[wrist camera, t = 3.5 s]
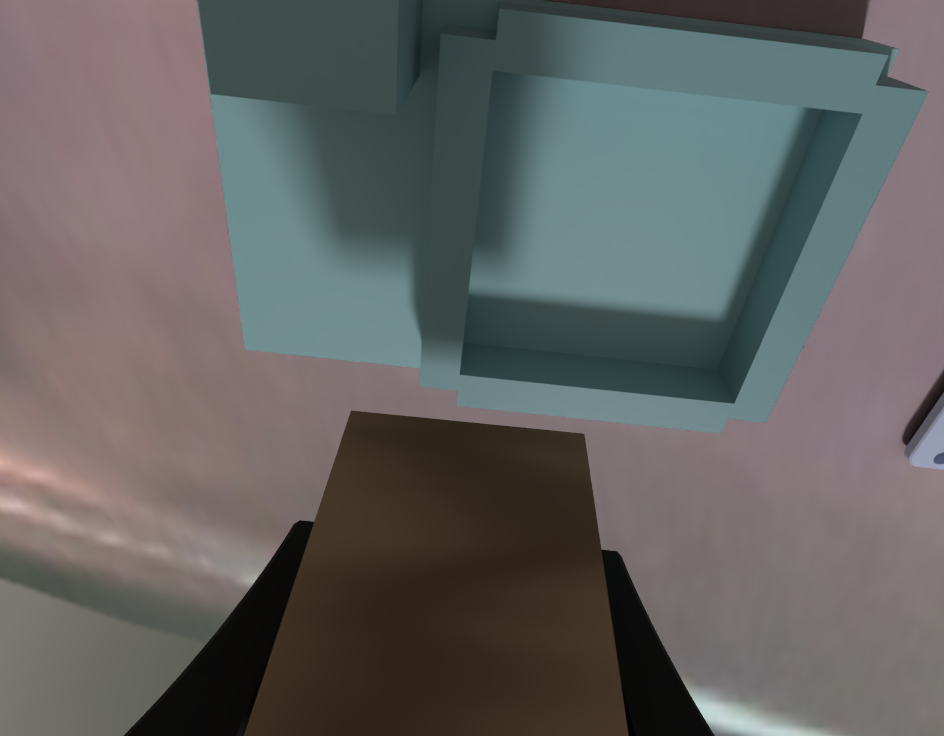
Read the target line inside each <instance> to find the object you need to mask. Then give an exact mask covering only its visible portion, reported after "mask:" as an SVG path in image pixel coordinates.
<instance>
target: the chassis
mask: <svg viewBox="0 0 944 736" xmlns="http://www.w3.org/2000/svg"><path fill="white" fill-rule="evenodd" d="M197 4H198V11H199V18H200V26H201V33H202V40H203V48H204V55H205V62H206V69H207V77H208V84H209V91H210V99H211V106H212V113H213V120H214V128H215V135H216V142H217V150H218V157H219V164H220V172H221V179H222V186H223V193H224V201H225V208H226V215H227V223H228V230H229V237H230V245H231V252H232V259H233V266H234V274H235V281H236V288H237V296H238V303H239V310H240V317H241V325H242V332H243V339H244V347H245V350H253V351H263V352H272V353H282V354H291V355H300V356H310V357H319V358H329V359H338V360H348V361H357V362H367V363H376V364H386V365H395V366H405V367H414V368H420V377H419V387H429V388H438V389H448V390H457V391H458V393H457V403H456V406H463V407H473V408H482V409H492V410H502V411H511V412H521V413H530V414H540V415H550V416H559V417H569V418H578V419H588V420H597V421H607V422H617V423H626V424H636V425H645V426H655V427H664V428H674V429H684V430H693V431H703V432H712V433H722V430H723V428H724V426H725V424H726V421H727V419H733V420H743V421H753V422H762V423H766V421H767V419H768V417H769V415H770V413H771V411H772V409H773V407H774V405H775V403H776V401H777V399H778V397H779V395H780V393H781V391H782V389H783V387H784V385H785V383H786V381H787V379H788V377H789V375H790V373H791V370H792V368H793V366H794V364H795V362H796V360H797V358H798V356H799V354H800V352H801V350H802V348H803V346H804V344H805V342H806V340H807V338H808V336H809V334H810V332H811V330H812V328H813V326H814V324H815V322H816V320H817V318H818V316H819V314H820V312H821V310H822V307H823V305H824V303H825V301H826V299H827V297H828V295H829V293H830V291H831V289H832V287H833V285H834V283H835V281H836V279H837V277H838V275H839V273H840V271H841V269H842V267H843V265H844V263H845V261H846V259H847V257H848V255H849V253H850V251H851V249H852V247H853V244H854V242H855V240H856V238H857V236H858V234H859V232H860V230H861V228H862V226H863V224H864V222H865V220H866V218H867V216H868V214H869V212H870V210H871V208H872V206H873V204H874V202H875V200H876V198H877V196H878V194H879V192H880V190H881V188H882V186H883V184H884V181H885V179H886V177H887V175H888V173H889V171H890V169H891V167H892V165H893V163H894V161H895V159H896V157H897V155H898V153H899V151H900V149H901V147H902V145H903V143H904V141H905V139H906V137H907V135H908V133H909V131H910V129H911V127H912V125H913V123H914V121H915V119H916V116H917V114H918V112H919V110H920V108H921V106H922V104H923V102H924V100H925V98H926V96H927V94H928V92H929V91H926V90H923V89H920V88H918V87H915V86H912V85H909V84H907V83H904V82H901V81H898V80H896V79H893V78H890V77H888V76H887V75H888V73H889V71H890V69H891V67H892V64H893V62H894V60H895V58H896V55H897V53H898V51H899V49H897V48H894V47H890V46H887V45H883V44H880V43H876V42H873V41H869V40H866V39H861V38H853V37H845V36H836V35H828V34H820V33H811V32H803V31H795V30H786V29H778V28H770V27H761V26H753V25H744V24H736V23H728V22H719V21H711V20H703V19H694V18H686V17H678V16H669V15H661V14H653V13H644V12H636V11H628V10H619V9H611V8H603V7H594V6H586V5H578V4H569V3H561V2H553V1H544V0H197Z"/></svg>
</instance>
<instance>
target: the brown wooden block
mask: <svg viewBox="0 0 944 736" xmlns="http://www.w3.org/2000/svg"><path fill="white" fill-rule="evenodd" d="M244 736H629V735H628V728H627V721H626V714H625V707H624V701H623V694H622V687H621V680H620V673H619V667H618V660H617V653H616V646H615V640H614V633H613V626H612V619H611V612H610V606H609V599H608V592H607V585H606V579H605V572H604V565H603V558H602V551H601V545H600V538H599V531H598V524H597V517H596V511H595V504H594V497H593V490H592V484H591V477H590V470H589V463H588V456H587V450H586V443H585V436H584V434H581V433H571V432H561V431H551V430H541V429H531V428H520V427H510V426H500V425H490V424H480V423H470V422H460V421H450V420H440V419H430V418H420V417H410V416H399V415H389V414H379V413H369V412H359V411H351V413H350V416H349V419H348V422H347V425H346V428H345V431H344V434H343V437H342V440H341V443H340V446H339V449H338V452H337V455H336V458H335V461H334V464H333V467H332V470H331V473H330V476H329V479H328V482H327V485H326V488H325V491H324V494H323V497H322V500H321V503H320V507H319V510H318V513H317V516H316V519H315V522H314V525H313V528H312V531H311V534H310V537H309V540H308V543H307V546H306V549H305V552H304V555H303V558H302V561H301V564H300V567H299V570H298V573H297V576H296V579H295V582H294V585H293V588H292V591H291V594H290V597H289V600H288V603H287V606H286V610H285V613H284V616H283V619H282V622H281V625H280V628H279V631H278V634H277V637H276V640H275V643H274V646H273V649H272V652H271V655H270V658H269V661H268V664H267V667H266V670H265V673H264V676H263V679H262V682H261V685H260V688H259V691H258V694H257V697H256V700H255V703H254V706H253V710H252V713H251V716H250V719H249V722H248V725H247V728H246V731H245V734H244Z"/></svg>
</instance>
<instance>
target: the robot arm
mask: <svg viewBox="0 0 944 736" xmlns="http://www.w3.org/2000/svg"><path fill="white" fill-rule="evenodd" d="M904 454H905V457H906V458H907V460H908V461H909V462H910V463H911V464H912V465H913V466H917V467H924V468H933V469H943V470H944V393H943V394H942V396H941V397H940V399H939V400H938V401H937V403H936V404H935V406H934V407H933V409H932V410H931V412H930V413H929V415H928V416H927V417H926V419H925V420H924V422H923V423H922V425H921V426H920V428H919V429H918V431H917V432H916V434H915V435H914V436H913V438H912V439H911V441H910V442H909V444H908V445H907V447H906V448H905V451H904ZM313 525H314V522H310V521H298V522H296V523H295V524H294V525H293V526H292V528H291V530H290V531H289V533H288V535H287V536H286V538H285V539H284V541H283V542H282V544H281V545H280V547H279V548H278V550H277V551H276V553H275V554H274V556H273V557H272V559H271V560H270V562H269V563H268V564H267V566H266V567H265V569H264V570H263V572H262V573H261V574H260V576H259V577H258V578H257V580H256V581H255V583H254V584H253V585H252V587H251V588H250V590H249V591H248V592H247V593H246V595H245V596H244V597H243V599H242V600H241V601H240V603H239V604H238V605H237V606H236V608H235V609H234V610H233V612H232V613H231V614H230V616H229V617H228V618H227V619H226V621H225V622H224V623H223V625H222V626H221V627H220V628H219V630H218V631H217V632H216V633H215V635H214V636H213V637H212V638H211V639H210V640H209V642H208V643H207V644H206V645H205V646H204V648H203V649H202V650H201V651H200V652H199V653H198V655H197V656H196V657H195V658H194V659H193V661H192V662H191V663H190V664H189V665H188V666H187V668H186V669H185V670H184V671H183V672H182V674H181V675H180V676H179V677H178V678H177V679H176V681H175V682H174V683H173V684H172V685H171V686H170V687H169V688H168V689H167V690H166V691H165V693H164V694H163V695H162V696H161V697H160V698H159V699H158V700H157V701H156V702H155V704H154V705H153V706H152V707H151V708H150V709H149V710H148V711H147V712H146V713H145V714H144V715H143V716H142V717H141V718H140V719H139V720H138V722H136V723H135V725H134V726H133V727H132V728H131V729H130V730H129V731H128V732H127V733H126V734H125V735H124V736H244V734H245V731H246V728H247V725H248V722H249V719H250V716H251V713H252V710H253V706H254V703H255V700H256V697H257V694H258V691H259V688H260V685H261V682H262V679H263V676H264V673H265V670H266V667H267V664H268V661H269V658H270V655H271V652H272V649H273V646H274V643H275V640H276V637H277V634H278V631H279V628H280V625H281V622H282V619H283V616H284V613H285V610H286V606H287V603H288V600H289V597H290V594H291V591H292V588H293V585H294V582H295V579H296V576H297V573H298V570H299V567H300V564H301V561H302V558H303V555H304V552H305V549H306V546H307V543H308V540H309V537H310V534H311V531H312V528H313ZM601 551H602V558H603V565H604V572H605V579H606V585H607V592H608V599H609V606H610V612H611V619H612V626H613V633H614V640H615V646H616V653H617V660H618V667H619V673H620V680H621V687H622V694H623V701H624V707H625V714H626V721H627V728H628V735H629V736H714V734H713V733H712V731H711V729H710V728H709V726H708V724H707V723H706V721H705V719H704V718H703V716H702V714H701V713H700V711H699V709H698V708H697V706H696V704H695V703H694V701H693V699H692V697H691V696H690V694H689V692H688V690H687V689H686V687H685V685H684V683H683V682H682V680H681V678H680V676H679V674H678V672H677V670H676V669H675V667H674V665H673V663H672V661H671V659H670V657H669V656H668V654H667V652H666V650H665V648H664V646H663V644H662V642H661V641H660V639H659V637H658V635H657V633H656V631H655V629H654V627H653V625H652V623H651V621H650V619H649V617H648V614H647V612H646V610H645V608H644V606H643V604H642V602H641V600H640V598H639V596H638V593H637V591H636V589H635V587H634V585H633V582H632V580H631V578H630V576H629V573H628V571H627V569H626V566H625V564H624V561H623V559H622V557H621V555H620V554H619V553H618V552H617V551H609V550H601Z"/></svg>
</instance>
